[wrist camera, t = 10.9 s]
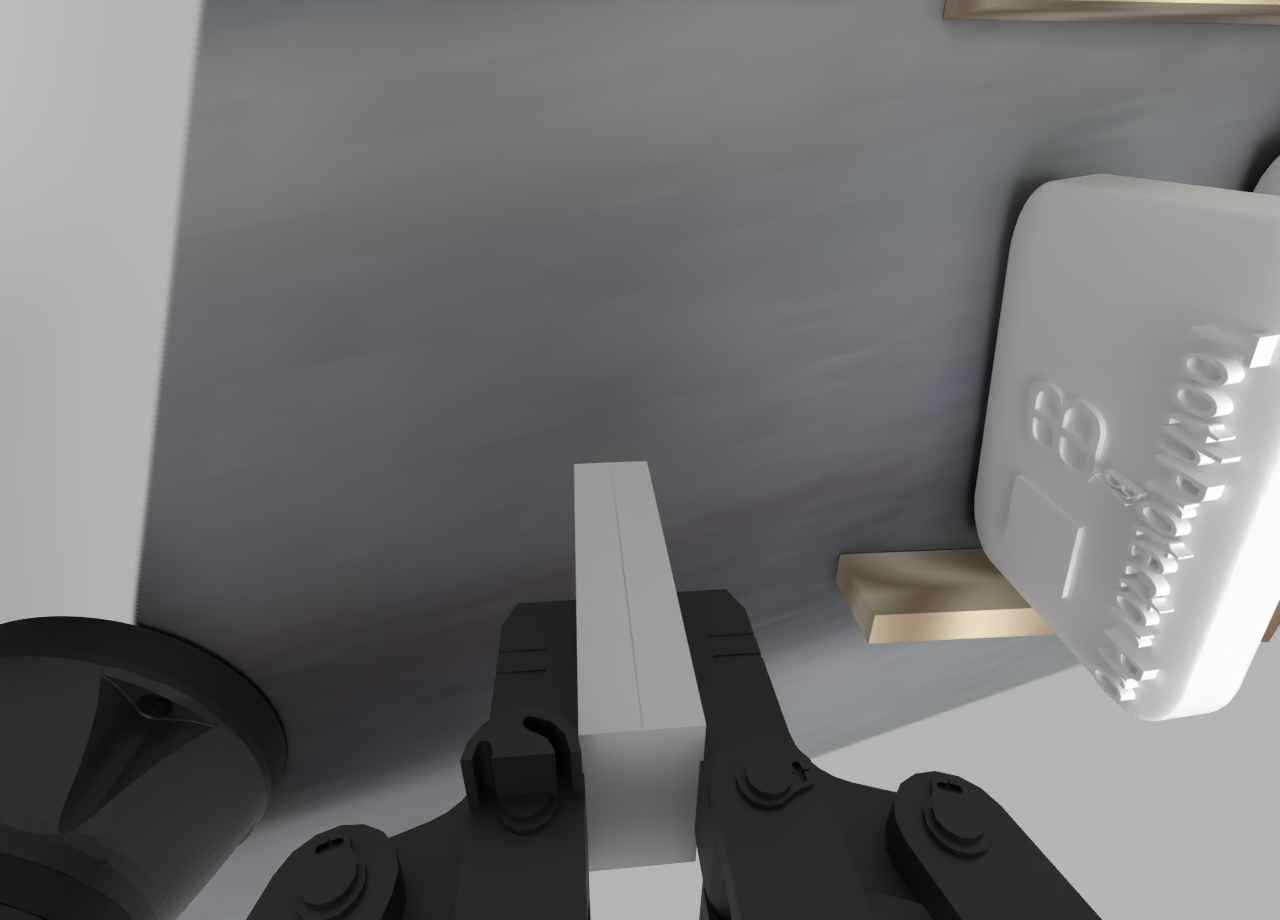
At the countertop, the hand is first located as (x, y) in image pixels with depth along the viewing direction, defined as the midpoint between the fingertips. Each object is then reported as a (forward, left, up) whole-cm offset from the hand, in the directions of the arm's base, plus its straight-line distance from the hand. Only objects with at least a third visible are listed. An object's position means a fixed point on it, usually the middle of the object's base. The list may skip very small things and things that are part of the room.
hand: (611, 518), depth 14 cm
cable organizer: (+20, -1, -12) cm, 23 cm away
